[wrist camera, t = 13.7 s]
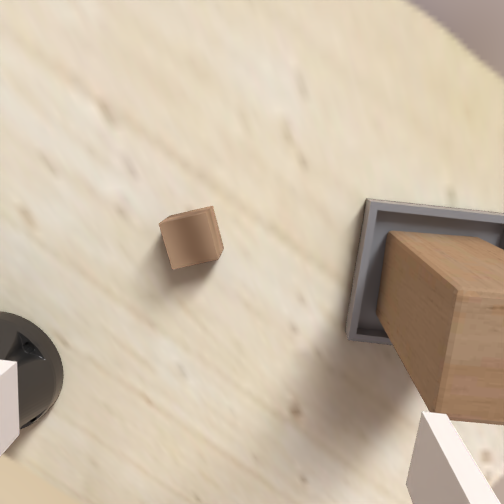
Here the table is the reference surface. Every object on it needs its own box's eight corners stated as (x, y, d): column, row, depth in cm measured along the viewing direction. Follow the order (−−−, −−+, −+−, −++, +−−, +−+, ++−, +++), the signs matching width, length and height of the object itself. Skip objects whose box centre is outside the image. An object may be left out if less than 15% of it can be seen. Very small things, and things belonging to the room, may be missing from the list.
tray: (344, 330, 53) (347, 339, 50) (366, 198, 49) (371, 201, 46) (479, 346, 52) (489, 356, 50) (511, 214, 48) (524, 217, 46)
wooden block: (463, 322, 51) (576, 434, 31) (374, 315, 51) (431, 421, 32) (480, 236, 48) (613, 301, 29) (386, 229, 49) (457, 288, 29)
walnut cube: (182, 257, 52) (172, 269, 47) (170, 215, 51) (158, 223, 46) (223, 248, 51) (218, 259, 46) (212, 205, 50) (205, 212, 45)
